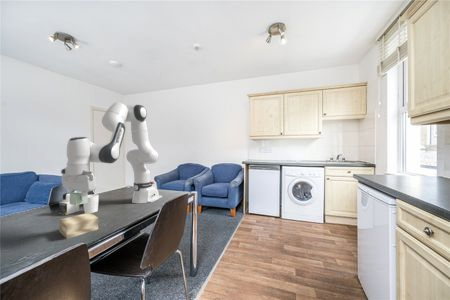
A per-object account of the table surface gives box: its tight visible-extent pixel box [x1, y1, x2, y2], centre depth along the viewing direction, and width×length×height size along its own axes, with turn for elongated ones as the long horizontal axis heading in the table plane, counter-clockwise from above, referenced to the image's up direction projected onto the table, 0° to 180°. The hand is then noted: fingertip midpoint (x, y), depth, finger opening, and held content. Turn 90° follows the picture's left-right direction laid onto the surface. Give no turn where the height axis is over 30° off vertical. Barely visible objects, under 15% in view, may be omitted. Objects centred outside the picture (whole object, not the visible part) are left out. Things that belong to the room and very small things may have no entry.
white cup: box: [83, 193, 100, 214], centre depth 114 cm, size 8×8×10 cm
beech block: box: [58, 213, 99, 240], centre depth 88 cm, size 12×12×6 cm
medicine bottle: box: [58, 192, 80, 216], centre depth 113 cm, size 7×7×12 cm
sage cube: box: [69, 191, 89, 206], centre depth 88 cm, size 5×5×5 cm
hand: (78, 198), depth 88 cm, fingers closed on sage cube, 5 cm apart
